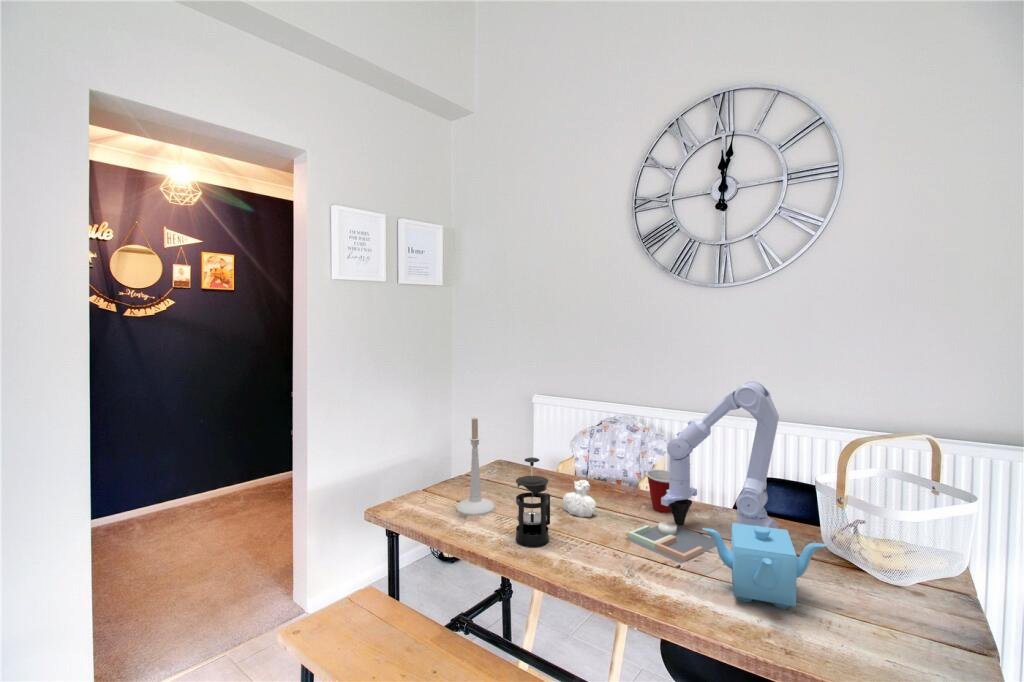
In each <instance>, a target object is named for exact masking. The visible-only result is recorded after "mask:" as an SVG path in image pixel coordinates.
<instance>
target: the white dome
mask: <svg viewBox="0 0 1024 682" xmlns="http://www.w3.org/2000/svg"><path fill="white" fill-rule="evenodd" d="M657 526H658V532H659V533H661V534H663V535H667V536H668V535H676V534H677V526H678V525H677V524H675V522H672V521H666V520H665V521H659V522H658V525H657Z"/></svg>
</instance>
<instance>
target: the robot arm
mask: <svg viewBox="0 0 1024 682" xmlns="http://www.w3.org/2000/svg"><path fill="white" fill-rule="evenodd" d="M741 408H742V409H743V410H745V411H746V412H748V413H750V415H751V416H752V417H753V418H754V420H755V421H756V427H755V432H754V437H753V442H752V447H751V452H750V457H749V461H748V462H749V463H748V466H747V467H748V468H747V472H746V477H745V481H744V483H743V486H742V491H741V493H740V494H739V495H738V496H737V498H736V499H735V500H736V501H735V506H736V507H737V508H736V509H737V512H736V513H737V516H736V517H737V518H736V523H737V524H745V525H753V526H761V527H768V528H776V529H779V526H778V525H779V524H778V522H777V521H776V520H775V519H773V518H770V517H769V515H768V512H767V510H766V508H765V506H766V504H767V503H768V500H769V496H768V492H767V485H768V484H767V477H768V474H769V469H770V464H771V463H770V462H771V459H772V453H773V449H774V444H775V440H776V434H777V429H778V424H779V421H780V420H779V419H780V417H779V413H778V411H777V408H776V406H775V404H774V401H773V399H772V396H771V392H770V390H768V389H767V388H766V387H765V386H764V385H763V384H762V383H760V382H758V381H756V380H755V381H754V380H753V381H748V382H746V383H744V384H742V385H739V386H738V387H737V388H736V389H735V390H733V391H732V392H730V393H729V394H727V395H726V396H724V397H723V398H722V399H721V400H720V401H719V402H718V403H717V404H716V405H715V406H714V407H712V408H711V410H710V411H709V412H708V413H707V414H706V415H705V416H704V417H703V418H694V419H690V420H689V421H688V422H687V426H686V427H684V429H683V430H681V431H678V432H677V433H676V434H675V435H676V437H675V438H672V439H670V440H669V442H668V443H667V446H666V451H667V454H668V455H669V465H668V466H669V470H668V471H669V490H666V492H667V494H666V495H665V496H664V497H662V498H661V504H662V505H665V506H670V508H671V513H672V517H673V520H674V524H676V525H677V526H679V527H682V526H684V524H685V521H686V517H687V515H688V511H689V509H690V507H691V506H692V504H693V500H691V498H692V497H693V496H694V497H696V496H698V488H695V487H691V453H692V452H693V450H694V449H696V448H697V447H698V446H699V445H700V444H701V443H702V442H704V441H705V440H706V439H707V438H708V437H709V436H710V435H711V433H712V431H711V429H712V427H713V426H714V425H715V424H716V423H718V422H719V420H721V419H722V418H723V417H725V415H727V414H728V413H729V412H731V411H735V410H740V409H741ZM730 544H731V545H732V541H730Z"/></svg>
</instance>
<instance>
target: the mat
mask: <svg viewBox="0 0 1024 682" xmlns="http://www.w3.org/2000/svg"><path fill="white" fill-rule="evenodd" d="M641 536H643V537H645V538H648V539H650V540H652V541H656V540H658V539H661V538H663V537H665V536H667V535H663V534H661V533H659V532H658V525H655V526H652V527H650V531H648V532H646V533H643V534H641ZM673 536H675V537H676V542H675V543H673V544H671V545H668V546H667V547H669V548H671V549H674V550H676V551H678V552H681V553H686V552H688V551H690V550H692V549H694V548H696V547H698V546H701V547H703V553H705V552H708V551H710V550H711V549H714V548H717V547H716V544H715V541H714V539H713V538H712V537H709V536H706V535H703V534H701V533H698V532H695V531H693V530H689V529H687V528H684V527H682V526H680V525H677V534H676V535H673ZM624 539H625V540H627V541H628V542H631V543H633V544H635V545H637V546H640V547H641V548H645V549H647V550H650V551H652V552H653V553H656V554H657V555H658V554H659V556H660V555H661V556H662V557H664V558H666V559H669V560H672V561H674V562H676V563H679V564H683V563H685V562H684V561H682V560H680V559H677V558H675V557H673V556H670V555H668V554H666V553H663V552H661V551H659V550H657V549H654V548H652V547H650V546H647V545H645V544H643V543H640V542H638V541H636V540H634V539H631V538H629V537H628V536H627V537H625V538H624ZM703 553H701V554H703ZM701 554H699V555H698V556H700V555H701Z"/></svg>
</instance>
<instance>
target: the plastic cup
mask: <svg viewBox="0 0 1024 682" xmlns="http://www.w3.org/2000/svg"><path fill="white" fill-rule="evenodd" d="M645 475H646V477H647V482H648V488H649V494H650V500H651V505H652V509H653V510H654V511H655V512H658V513H666V514H667V513H672V511H671V508H670V506H665V505H662V504H661V498H662V497H664V496H665V495H666V494H667V492H666V490H669V470H666V469H660V468H659V469H650V470H649V469H648V470H647V471H645Z"/></svg>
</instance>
